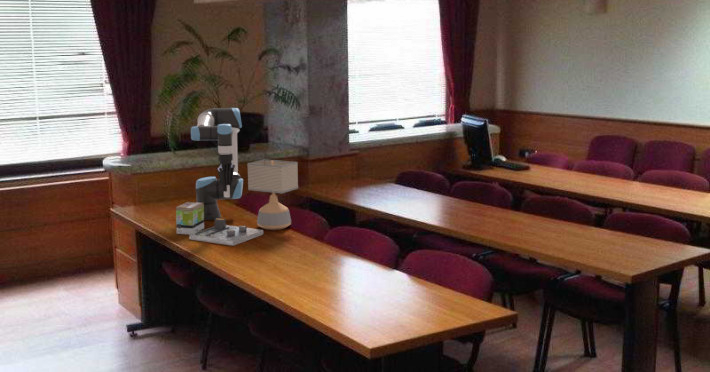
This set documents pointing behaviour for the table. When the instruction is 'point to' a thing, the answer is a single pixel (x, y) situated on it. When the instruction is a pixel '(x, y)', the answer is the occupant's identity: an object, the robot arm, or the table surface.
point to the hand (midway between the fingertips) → (226, 197)
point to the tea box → (190, 217)
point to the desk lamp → (273, 190)
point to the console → (226, 235)
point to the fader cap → (220, 223)
